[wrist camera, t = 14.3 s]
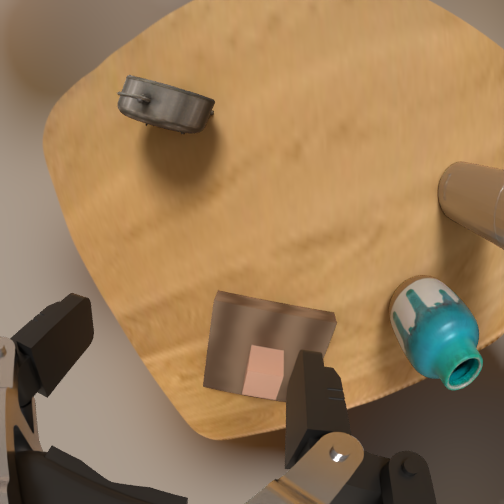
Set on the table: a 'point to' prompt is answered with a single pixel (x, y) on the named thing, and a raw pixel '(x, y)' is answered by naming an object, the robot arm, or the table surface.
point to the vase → (436, 331)
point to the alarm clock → (164, 105)
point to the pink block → (264, 372)
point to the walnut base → (260, 337)
